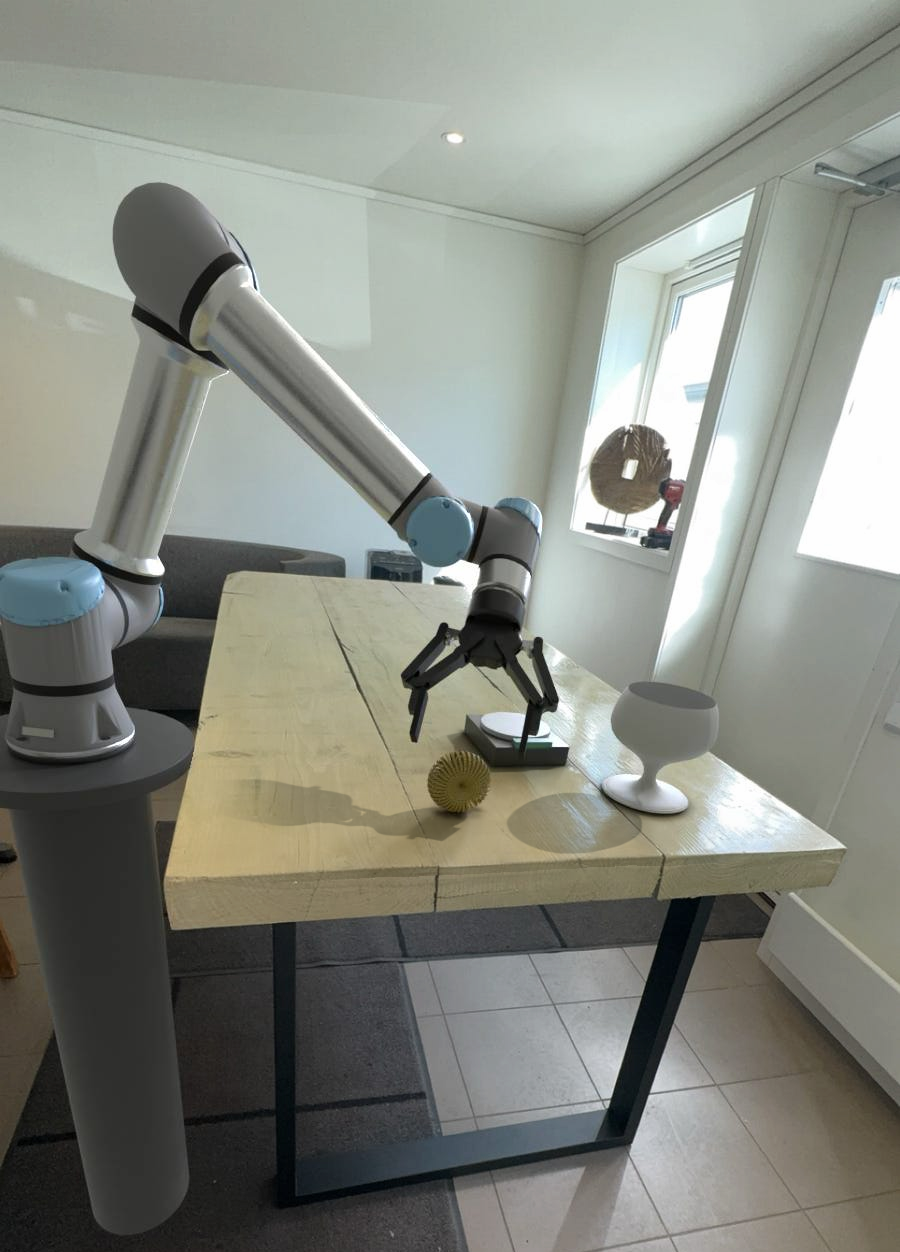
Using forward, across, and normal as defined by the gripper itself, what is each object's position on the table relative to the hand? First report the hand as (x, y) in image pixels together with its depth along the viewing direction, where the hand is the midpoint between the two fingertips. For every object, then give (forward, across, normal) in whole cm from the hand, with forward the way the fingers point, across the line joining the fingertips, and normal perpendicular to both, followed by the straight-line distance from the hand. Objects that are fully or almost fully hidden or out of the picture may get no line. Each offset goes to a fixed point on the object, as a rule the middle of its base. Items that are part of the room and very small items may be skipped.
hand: (466, 747), depth 81 cm
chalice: (-4, -25, -15) cm, 29 cm away
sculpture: (+7, 0, -4) cm, 8 cm away
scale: (-11, -5, -22) cm, 25 cm away
